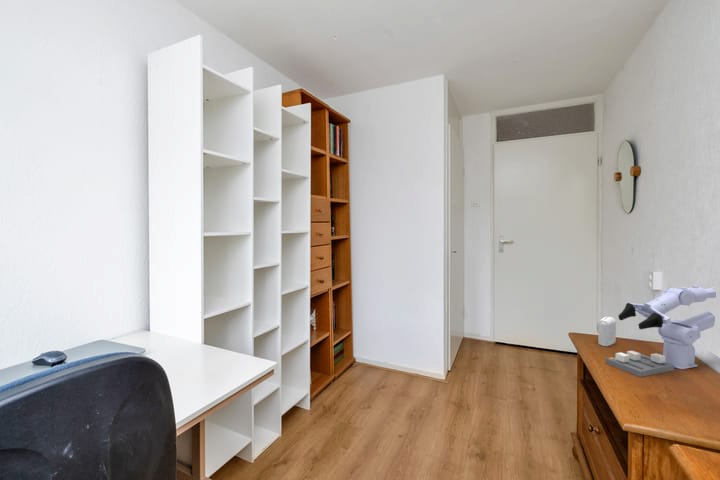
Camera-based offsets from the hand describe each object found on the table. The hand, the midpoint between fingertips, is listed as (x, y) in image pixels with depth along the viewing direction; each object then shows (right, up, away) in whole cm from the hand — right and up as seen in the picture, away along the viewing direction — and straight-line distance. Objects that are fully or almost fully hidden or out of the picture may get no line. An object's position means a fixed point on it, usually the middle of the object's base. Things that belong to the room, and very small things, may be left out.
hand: (629, 322), depth 122 cm
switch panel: (+5, -17, +1) cm, 18 cm away
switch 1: (-2, -15, +1) cm, 15 cm away
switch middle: (+4, -15, +3) cm, 16 cm away
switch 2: (+11, -15, 0) cm, 19 cm away
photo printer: (+11, -17, +25) cm, 32 cm away
